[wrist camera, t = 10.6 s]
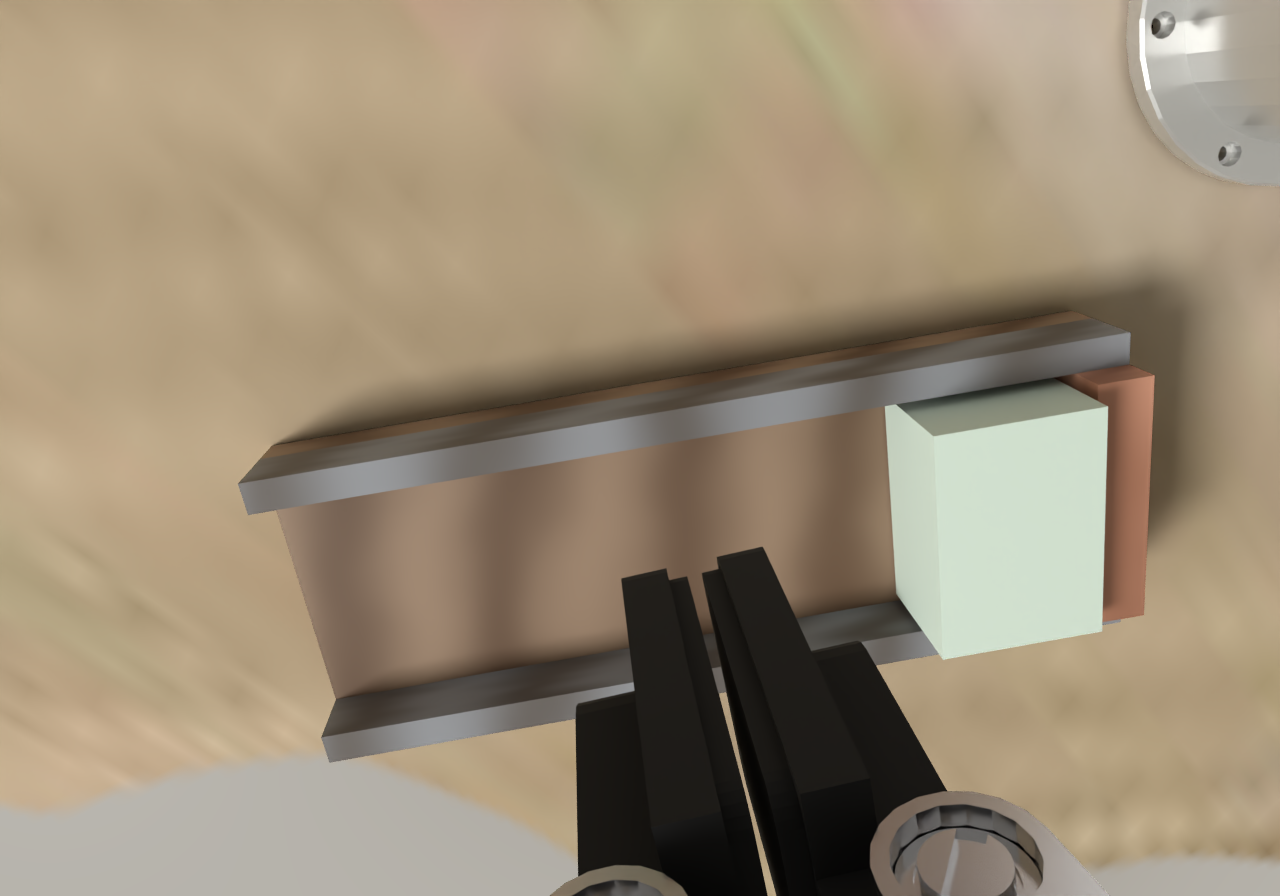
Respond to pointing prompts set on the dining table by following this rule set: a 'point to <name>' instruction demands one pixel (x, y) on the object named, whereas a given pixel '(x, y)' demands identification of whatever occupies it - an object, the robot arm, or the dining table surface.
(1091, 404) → the sliding block
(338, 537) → the track
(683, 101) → the dining table surface
